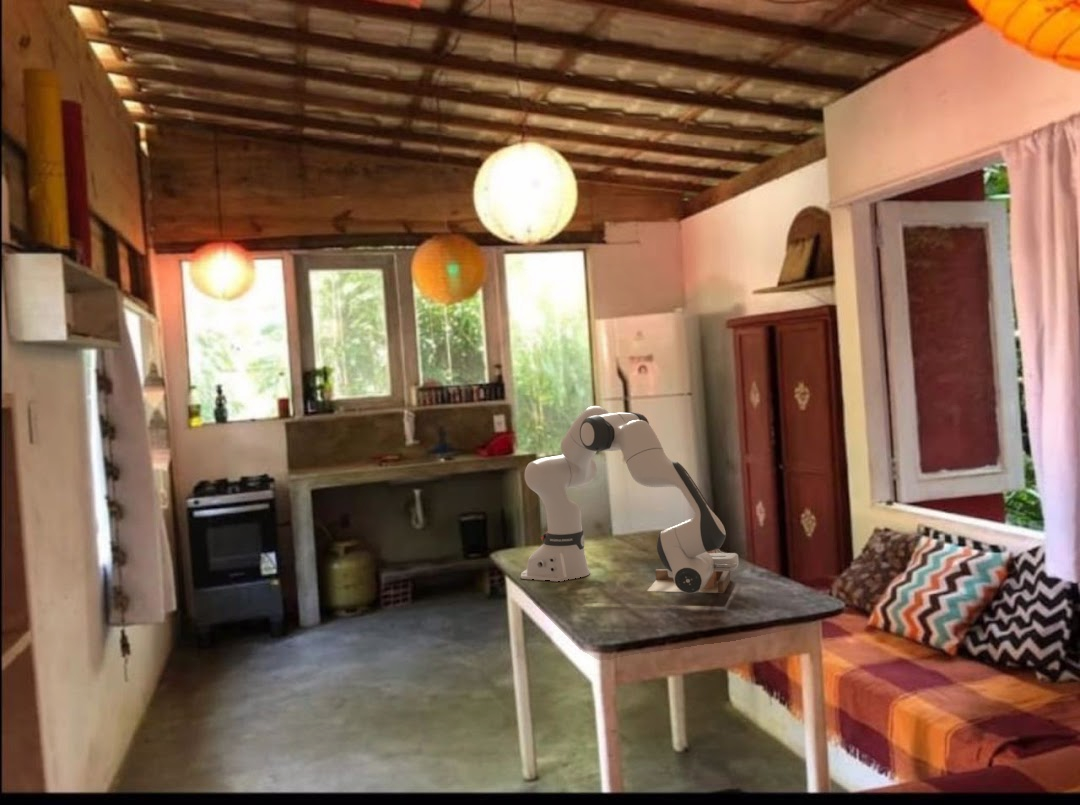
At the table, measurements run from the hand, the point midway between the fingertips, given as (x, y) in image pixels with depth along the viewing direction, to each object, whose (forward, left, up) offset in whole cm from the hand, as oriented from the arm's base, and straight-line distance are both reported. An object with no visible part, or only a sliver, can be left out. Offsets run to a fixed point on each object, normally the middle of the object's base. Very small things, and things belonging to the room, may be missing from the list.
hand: (705, 555), depth 248 cm
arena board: (-5, -2, -10) cm, 11 cm away
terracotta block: (0, 0, -9) cm, 9 cm away
